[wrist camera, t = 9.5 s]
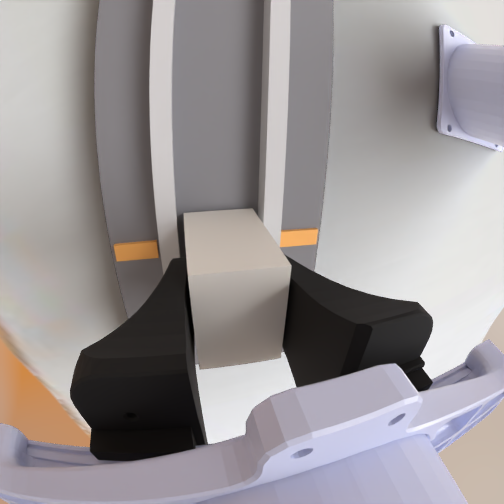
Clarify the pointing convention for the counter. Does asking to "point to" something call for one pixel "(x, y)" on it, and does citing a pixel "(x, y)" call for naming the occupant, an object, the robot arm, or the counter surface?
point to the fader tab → (235, 287)
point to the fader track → (210, 124)
